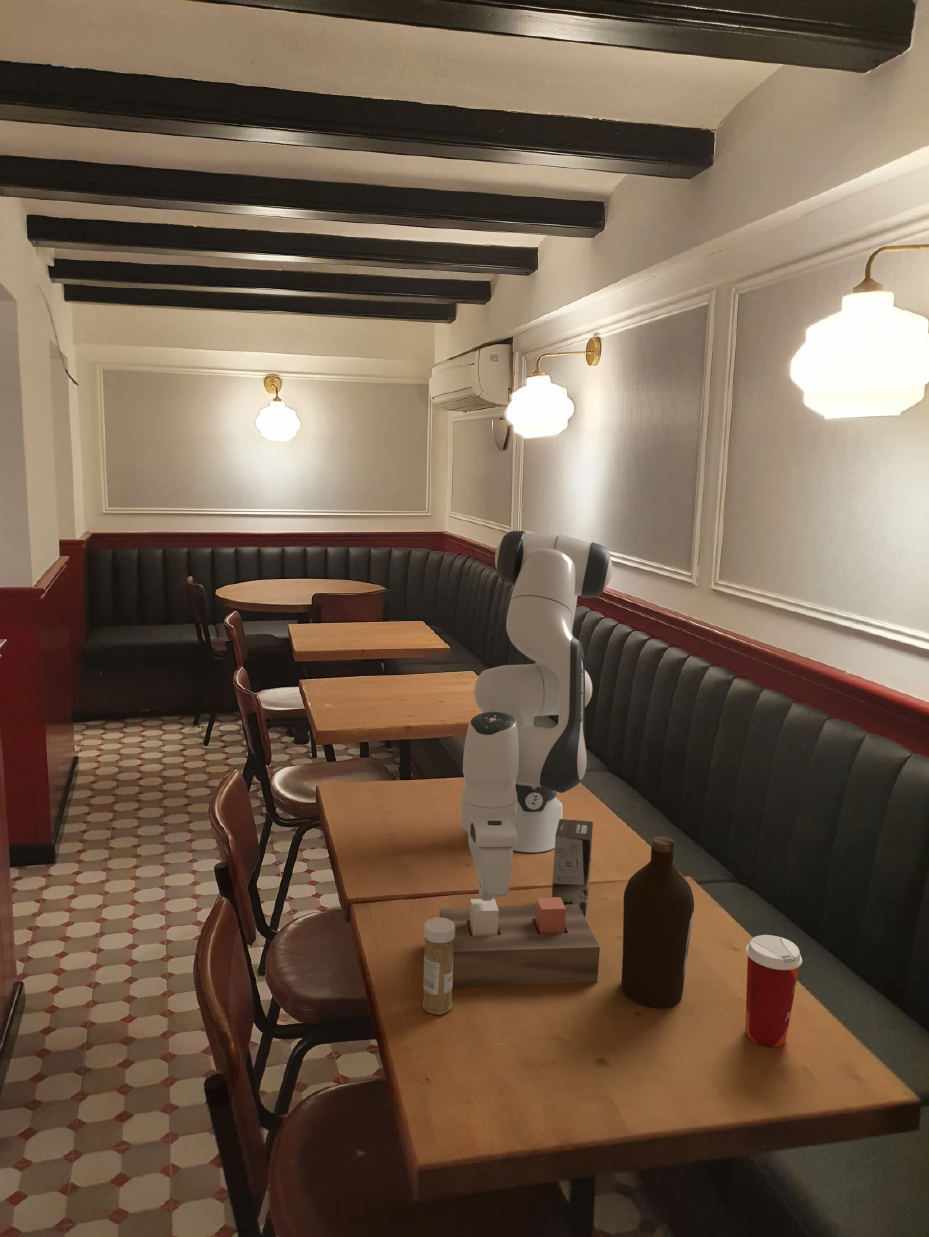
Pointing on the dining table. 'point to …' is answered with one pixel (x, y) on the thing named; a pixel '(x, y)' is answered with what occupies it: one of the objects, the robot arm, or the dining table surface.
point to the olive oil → (656, 930)
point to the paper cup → (770, 988)
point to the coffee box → (572, 862)
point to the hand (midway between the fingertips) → (485, 896)
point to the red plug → (550, 915)
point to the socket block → (522, 950)
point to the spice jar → (438, 965)
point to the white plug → (483, 917)
